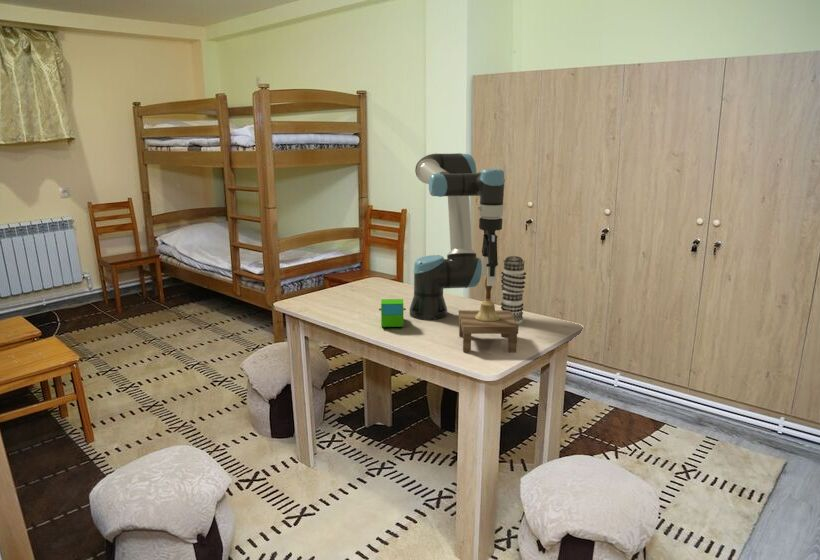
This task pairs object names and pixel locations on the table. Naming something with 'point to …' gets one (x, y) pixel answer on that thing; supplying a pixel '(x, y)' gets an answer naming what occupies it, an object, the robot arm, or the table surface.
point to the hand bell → (487, 307)
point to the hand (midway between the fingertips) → (488, 280)
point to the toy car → (392, 313)
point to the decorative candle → (513, 287)
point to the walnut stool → (487, 327)
